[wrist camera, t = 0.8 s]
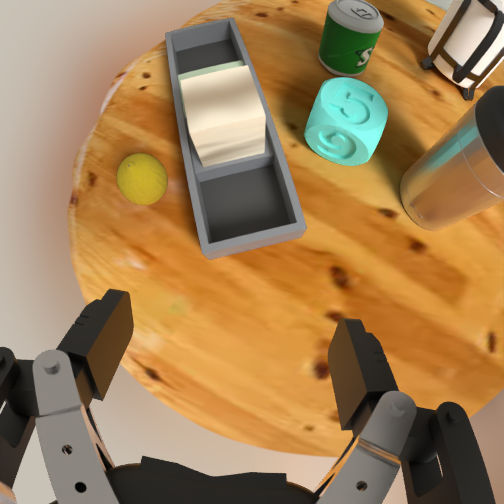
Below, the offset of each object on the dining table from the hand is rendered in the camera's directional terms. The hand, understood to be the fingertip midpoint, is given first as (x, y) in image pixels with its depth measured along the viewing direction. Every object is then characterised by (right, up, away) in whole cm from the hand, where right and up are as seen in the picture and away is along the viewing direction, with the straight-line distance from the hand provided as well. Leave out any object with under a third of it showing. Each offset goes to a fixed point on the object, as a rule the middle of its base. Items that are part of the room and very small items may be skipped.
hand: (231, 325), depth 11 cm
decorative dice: (+12, +18, +25) cm, 33 cm away
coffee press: (+37, +35, +28) cm, 58 cm away
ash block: (-2, +16, +22) cm, 28 cm away
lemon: (-11, +10, +25) cm, 29 cm away
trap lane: (-3, +20, +26) cm, 33 cm away
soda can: (+14, +32, +28) cm, 44 cm away
